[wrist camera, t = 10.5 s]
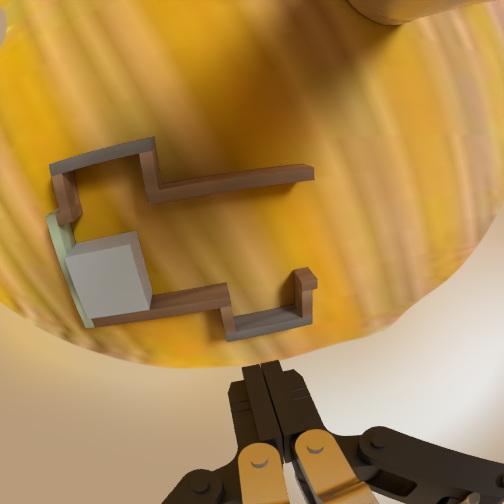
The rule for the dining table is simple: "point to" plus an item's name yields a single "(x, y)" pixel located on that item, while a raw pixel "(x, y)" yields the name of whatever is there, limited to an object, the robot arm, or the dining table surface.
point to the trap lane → (174, 191)
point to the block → (110, 275)
